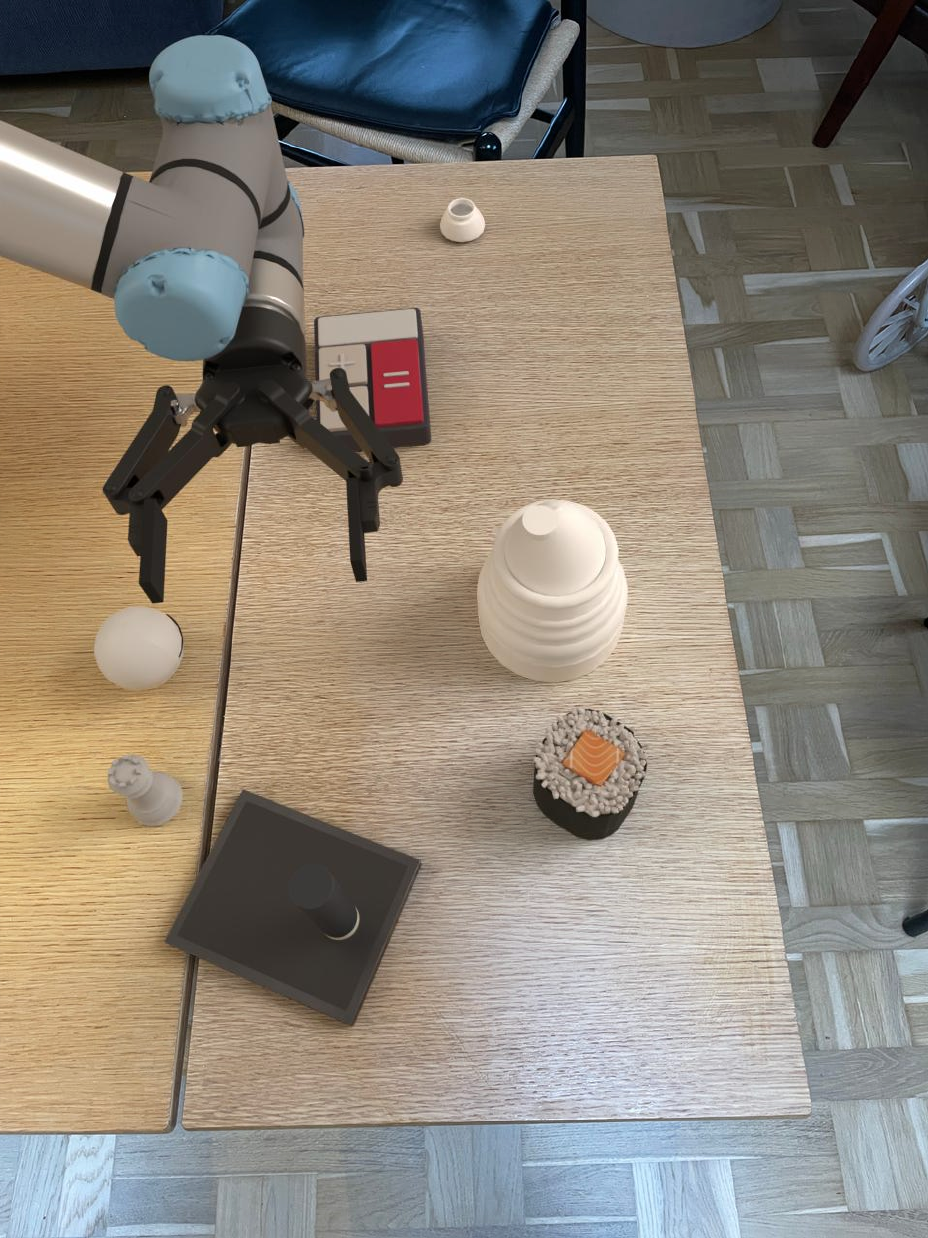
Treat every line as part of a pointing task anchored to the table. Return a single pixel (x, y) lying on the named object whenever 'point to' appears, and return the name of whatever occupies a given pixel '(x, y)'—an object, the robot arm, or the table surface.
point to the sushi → (588, 773)
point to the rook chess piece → (145, 790)
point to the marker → (324, 901)
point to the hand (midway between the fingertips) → (255, 582)
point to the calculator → (377, 372)
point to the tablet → (292, 906)
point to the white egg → (139, 648)
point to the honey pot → (552, 592)
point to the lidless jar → (462, 221)
